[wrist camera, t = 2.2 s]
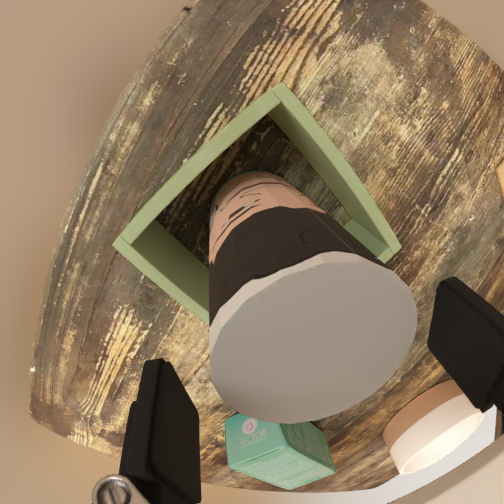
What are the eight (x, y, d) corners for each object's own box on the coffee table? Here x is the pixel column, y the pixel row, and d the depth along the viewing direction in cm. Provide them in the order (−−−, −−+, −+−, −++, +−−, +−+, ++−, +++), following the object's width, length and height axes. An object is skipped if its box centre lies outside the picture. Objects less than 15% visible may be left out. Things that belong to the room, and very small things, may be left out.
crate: (263, 93, 18) (282, 80, 13) (363, 218, 23) (402, 247, 18) (135, 214, 21) (111, 245, 15) (249, 314, 26) (259, 363, 20)
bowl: (370, 425, 37) (389, 466, 30) (460, 362, 35) (488, 397, 28) (392, 448, 44) (407, 479, 37) (463, 400, 42) (482, 428, 34)
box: (273, 391, 30) (286, 447, 23) (324, 429, 36) (338, 472, 29) (221, 417, 31) (225, 470, 25) (280, 449, 37) (289, 491, 30)
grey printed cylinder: (316, 196, 22) (448, 306, 8) (271, 269, 24) (335, 430, 10) (237, 153, 20) (290, 212, 6) (194, 234, 22) (175, 400, 8)
